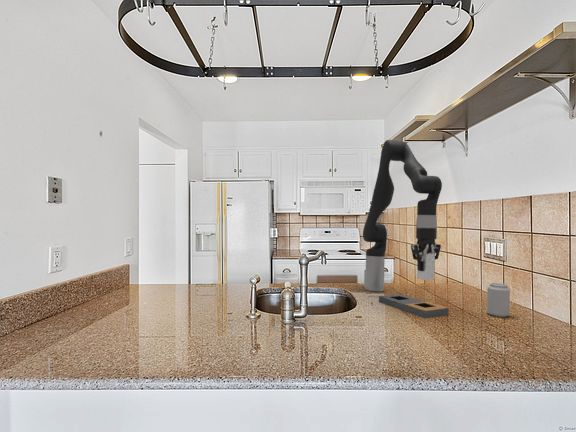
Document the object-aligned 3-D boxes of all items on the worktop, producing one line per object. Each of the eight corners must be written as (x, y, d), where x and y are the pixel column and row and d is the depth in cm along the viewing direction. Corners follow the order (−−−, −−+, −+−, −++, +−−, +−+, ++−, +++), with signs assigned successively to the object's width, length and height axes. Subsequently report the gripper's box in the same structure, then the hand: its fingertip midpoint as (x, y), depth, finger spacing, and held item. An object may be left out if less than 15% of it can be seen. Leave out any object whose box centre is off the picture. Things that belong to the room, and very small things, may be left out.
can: (482, 313, 141) (483, 282, 141) (495, 311, 144) (495, 281, 144) (500, 318, 134) (501, 286, 134) (513, 316, 137) (514, 285, 137)
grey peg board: (378, 301, 157) (378, 295, 157) (400, 299, 162) (400, 293, 162) (425, 317, 133) (425, 310, 133) (448, 314, 138) (448, 307, 138)
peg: (416, 278, 142) (417, 252, 142) (425, 277, 144) (425, 252, 144) (425, 280, 138) (426, 254, 138) (434, 279, 140) (434, 253, 140)
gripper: (432, 226, 148) (431, 268, 148) (405, 226, 141) (404, 270, 141) (447, 227, 141) (446, 271, 141) (420, 227, 135) (419, 273, 135)
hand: (425, 270), depth 141 cm, fingers closed on peg, 4 cm apart
